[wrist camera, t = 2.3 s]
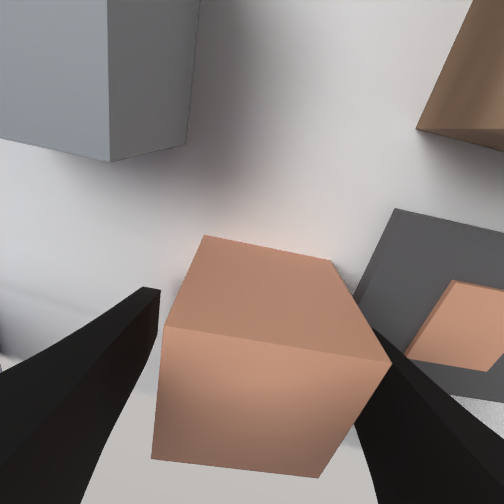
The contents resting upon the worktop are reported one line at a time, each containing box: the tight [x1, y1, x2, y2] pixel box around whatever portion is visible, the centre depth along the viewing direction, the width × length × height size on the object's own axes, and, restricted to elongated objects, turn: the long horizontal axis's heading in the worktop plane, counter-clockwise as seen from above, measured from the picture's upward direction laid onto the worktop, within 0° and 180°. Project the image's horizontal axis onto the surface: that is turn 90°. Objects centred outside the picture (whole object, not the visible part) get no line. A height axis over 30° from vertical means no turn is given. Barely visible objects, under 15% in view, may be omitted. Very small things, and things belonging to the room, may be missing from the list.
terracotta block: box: [151, 235, 392, 478], centre depth 9 cm, size 5×5×5 cm
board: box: [353, 208, 504, 403], centre depth 11 cm, size 10×8×1 cm
